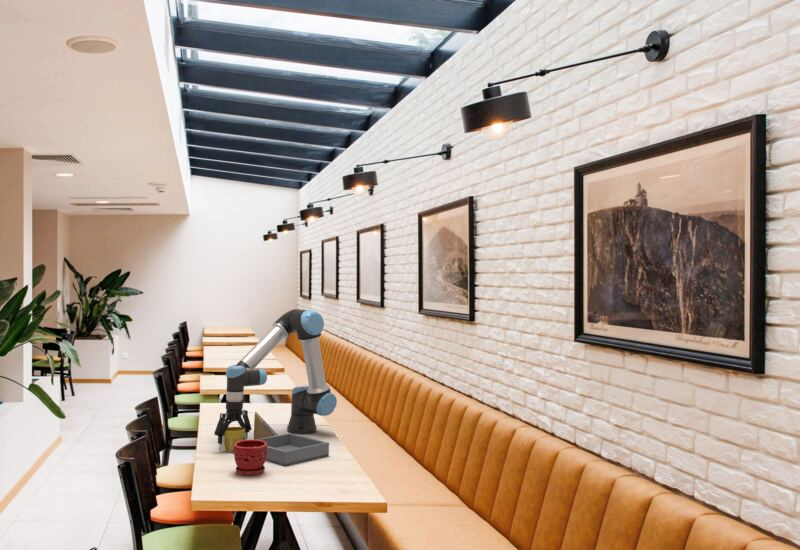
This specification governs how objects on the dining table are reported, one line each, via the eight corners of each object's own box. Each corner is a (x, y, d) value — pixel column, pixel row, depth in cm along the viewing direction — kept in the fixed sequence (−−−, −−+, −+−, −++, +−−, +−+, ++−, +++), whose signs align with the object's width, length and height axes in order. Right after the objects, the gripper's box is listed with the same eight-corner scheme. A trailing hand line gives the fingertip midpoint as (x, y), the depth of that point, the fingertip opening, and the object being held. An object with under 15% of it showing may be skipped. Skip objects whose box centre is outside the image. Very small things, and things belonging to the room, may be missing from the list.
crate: (288, 445, 336) (289, 433, 336) (328, 456, 319) (329, 442, 320) (244, 454, 316) (245, 441, 316) (284, 466, 299) (285, 451, 299)
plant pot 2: (237, 467, 294) (238, 438, 294) (269, 469, 294) (270, 440, 294) (228, 476, 281) (230, 445, 281) (262, 478, 281) (263, 447, 281)
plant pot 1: (222, 447, 327) (223, 426, 327) (245, 448, 328) (246, 426, 328) (218, 452, 317) (219, 430, 317) (242, 453, 318) (243, 431, 318)
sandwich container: (286, 446, 335) (287, 414, 335) (253, 446, 332) (254, 414, 332) (286, 442, 343) (287, 411, 343) (253, 442, 340) (255, 411, 341)
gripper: (250, 396, 335) (248, 443, 334) (207, 402, 316) (205, 451, 316) (260, 398, 330) (258, 446, 330) (217, 404, 311) (215, 454, 311)
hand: (232, 448), depth 323 cm, fingers open, 12 cm apart
